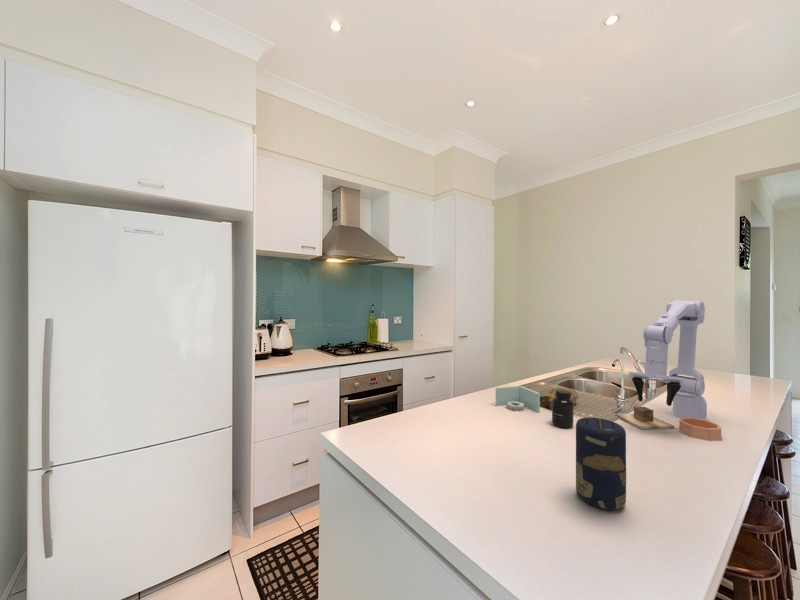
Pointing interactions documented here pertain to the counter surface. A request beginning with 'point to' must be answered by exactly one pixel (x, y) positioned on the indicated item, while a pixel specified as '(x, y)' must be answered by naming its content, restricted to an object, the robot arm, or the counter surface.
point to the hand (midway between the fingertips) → (654, 403)
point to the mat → (646, 429)
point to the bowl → (700, 429)
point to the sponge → (549, 396)
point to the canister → (601, 462)
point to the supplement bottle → (562, 410)
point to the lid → (644, 419)
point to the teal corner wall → (518, 398)
